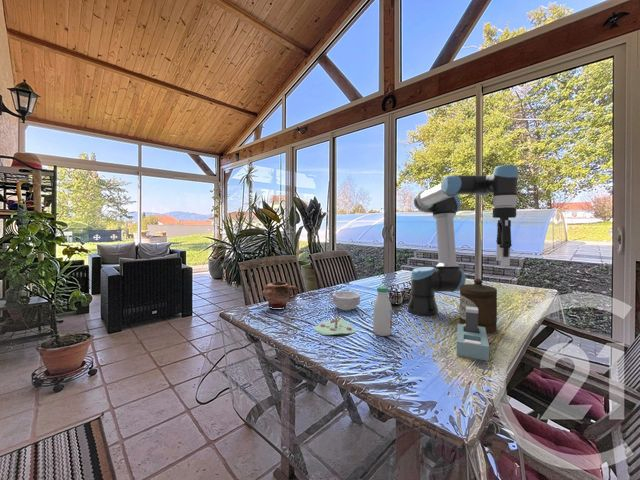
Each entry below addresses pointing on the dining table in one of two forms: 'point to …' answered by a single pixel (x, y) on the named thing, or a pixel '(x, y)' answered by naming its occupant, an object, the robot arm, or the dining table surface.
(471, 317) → the plug
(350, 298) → the paper bowls
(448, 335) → the dining table surface
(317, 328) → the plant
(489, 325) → the wooden container
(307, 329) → the dining table surface
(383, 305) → the milk bottle
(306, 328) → the dining table surface
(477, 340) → the socket block
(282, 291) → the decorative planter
